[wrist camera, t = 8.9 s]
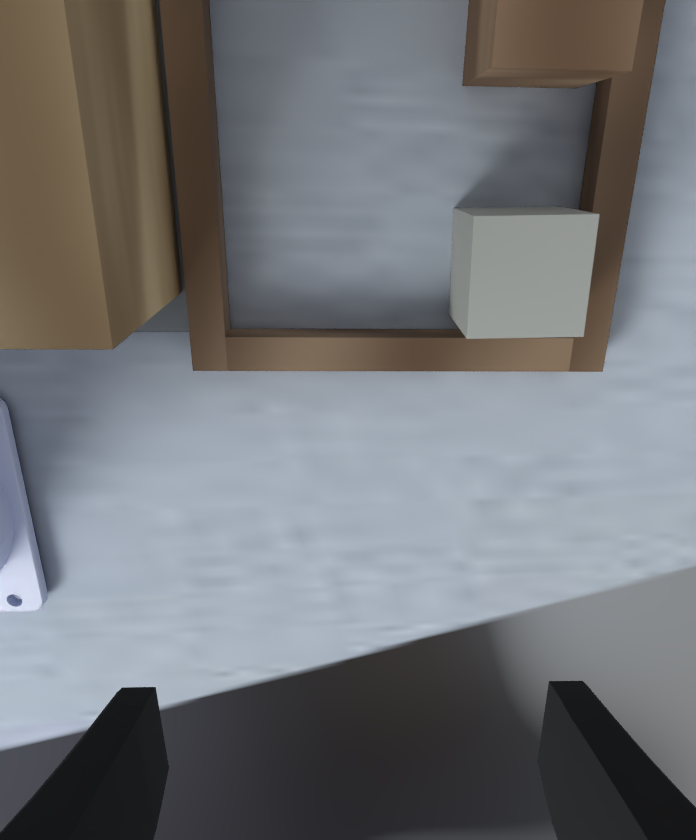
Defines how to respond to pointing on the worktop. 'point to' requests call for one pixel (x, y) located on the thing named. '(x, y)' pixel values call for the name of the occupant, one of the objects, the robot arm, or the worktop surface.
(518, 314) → the offcut grey
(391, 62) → the worktop surface
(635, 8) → the offcut dark
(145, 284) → the oak board
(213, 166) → the frame
